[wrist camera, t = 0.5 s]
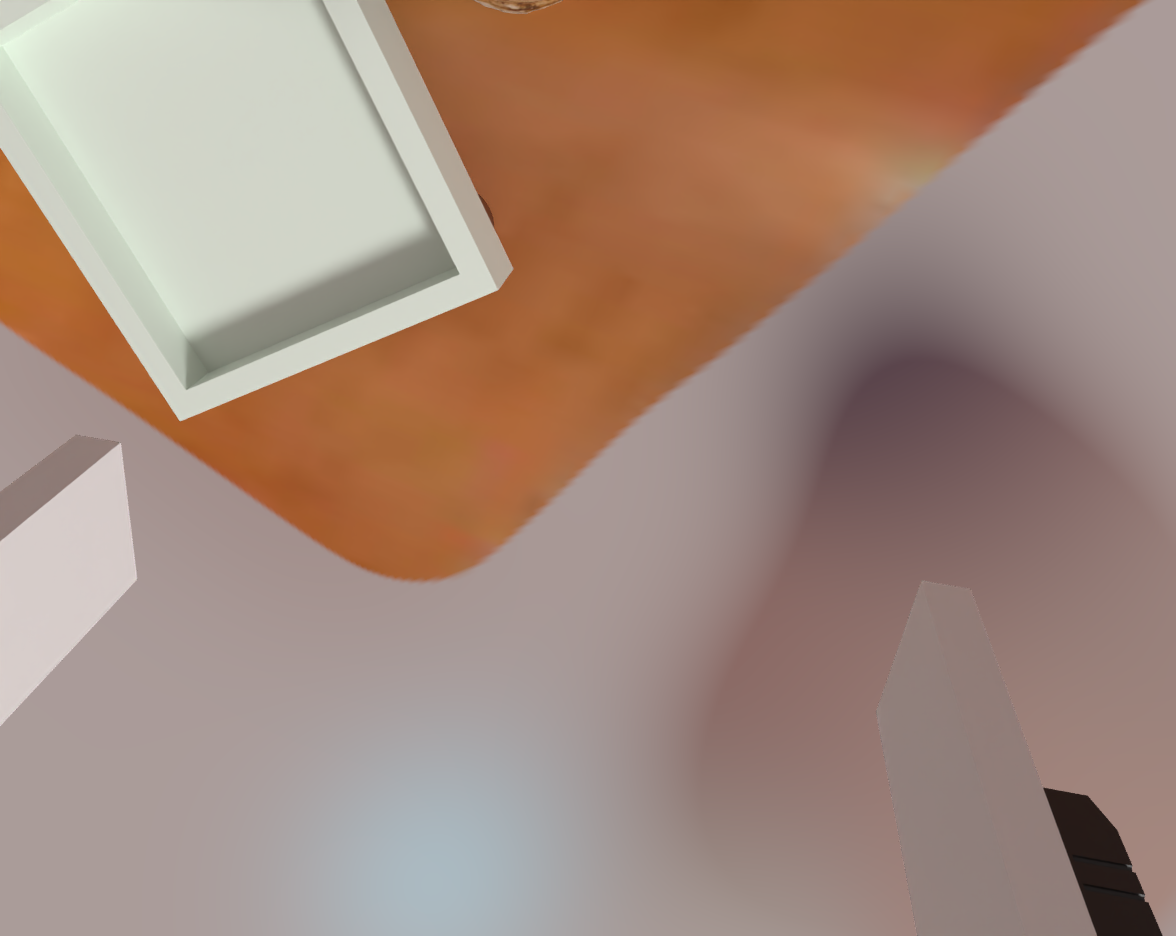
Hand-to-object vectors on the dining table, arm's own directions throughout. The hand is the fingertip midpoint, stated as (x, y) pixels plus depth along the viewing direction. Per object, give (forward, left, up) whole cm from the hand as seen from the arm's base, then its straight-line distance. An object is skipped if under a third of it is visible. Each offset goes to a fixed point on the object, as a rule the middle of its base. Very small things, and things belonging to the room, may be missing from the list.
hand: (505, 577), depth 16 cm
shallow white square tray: (-8, -11, -24) cm, 28 cm away
